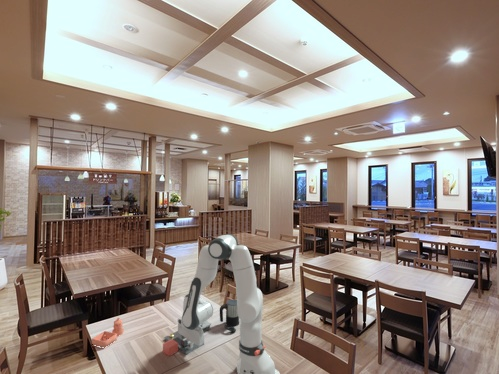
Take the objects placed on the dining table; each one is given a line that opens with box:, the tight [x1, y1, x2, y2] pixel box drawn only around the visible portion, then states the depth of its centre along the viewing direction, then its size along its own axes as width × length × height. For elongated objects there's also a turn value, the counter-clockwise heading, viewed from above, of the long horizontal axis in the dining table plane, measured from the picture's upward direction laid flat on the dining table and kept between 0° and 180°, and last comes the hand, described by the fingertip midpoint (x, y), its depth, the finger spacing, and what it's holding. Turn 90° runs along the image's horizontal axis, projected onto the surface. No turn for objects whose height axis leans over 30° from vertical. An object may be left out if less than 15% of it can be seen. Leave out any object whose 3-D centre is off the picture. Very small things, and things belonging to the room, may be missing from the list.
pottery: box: [91, 317, 124, 349], centre depth 157 cm, size 18×10×10 cm, turn 162°
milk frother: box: [219, 299, 240, 333], centre depth 173 cm, size 14×16×15 cm
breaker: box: [181, 338, 188, 347], centre depth 149 cm, size 3×3×3 cm
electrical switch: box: [199, 320, 212, 333], centre depth 169 cm, size 9×5×9 cm
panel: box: [163, 330, 205, 355], centre depth 155 cm, size 22×13×2 cm, turn 50°
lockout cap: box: [162, 339, 179, 357], centre depth 145 cm, size 6×6×5 cm
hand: (190, 346), depth 146 cm, fingers closed
